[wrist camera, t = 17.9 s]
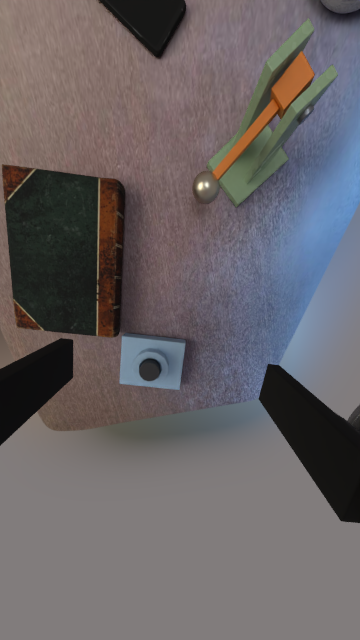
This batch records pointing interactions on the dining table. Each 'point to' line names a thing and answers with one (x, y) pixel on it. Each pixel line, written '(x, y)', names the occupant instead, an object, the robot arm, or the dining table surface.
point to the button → (149, 370)
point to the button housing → (156, 348)
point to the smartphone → (149, 20)
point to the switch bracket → (268, 145)
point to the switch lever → (257, 125)
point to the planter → (342, 5)
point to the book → (64, 250)
